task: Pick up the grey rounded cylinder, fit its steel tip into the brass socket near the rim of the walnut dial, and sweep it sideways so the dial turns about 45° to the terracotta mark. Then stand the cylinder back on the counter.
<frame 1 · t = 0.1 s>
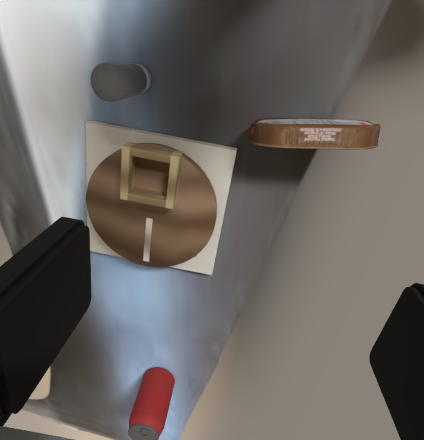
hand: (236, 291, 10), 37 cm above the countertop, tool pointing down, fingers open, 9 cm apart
beer can: (160, 375, 67), on the countertop
dial base: (157, 201, 49), on the countertop
grey rounded cylinder: (138, 78, 42), on the countertop
tin: (306, 126, 42), on the countertop
dial: (149, 212, 46), point 4 cm above the countertop, hinge at 0.0°
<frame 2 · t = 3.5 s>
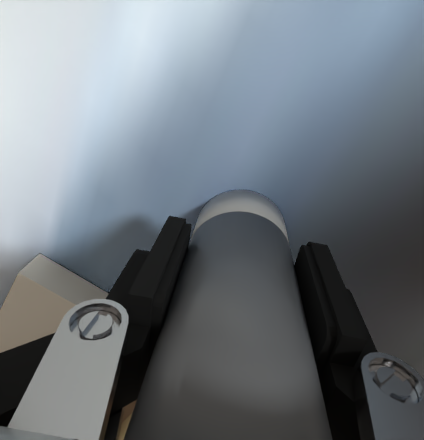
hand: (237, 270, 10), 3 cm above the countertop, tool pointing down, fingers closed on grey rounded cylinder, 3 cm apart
grey rounded cylinder: (240, 231, 13), on the countertop, touching gripper
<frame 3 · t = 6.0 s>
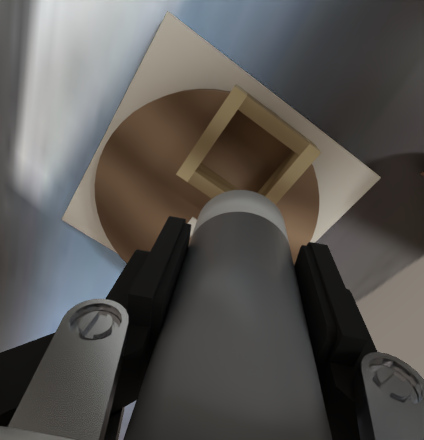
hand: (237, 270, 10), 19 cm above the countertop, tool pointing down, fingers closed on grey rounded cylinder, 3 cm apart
dial base: (208, 194, 30), on the countertop
grey rounded cylinder: (240, 231, 13), point 17 cm above the countertop, touching gripper
dial: (203, 211, 27), point 4 cm above the countertop, hinge at 0.0°
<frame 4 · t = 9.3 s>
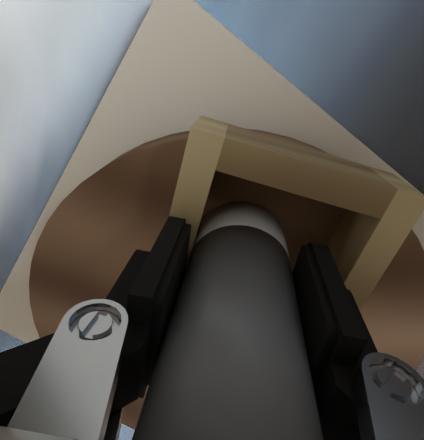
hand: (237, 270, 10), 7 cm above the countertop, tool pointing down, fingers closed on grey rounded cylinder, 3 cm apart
dial base: (225, 287, 19), on the countertop
grey rounded cylinder: (240, 241, 13), point 4 cm above the countertop, touching dial, gripper
dial: (222, 339, 15), point 4 cm above the countertop, hinge at 20.4°, touching grey rounded cylinder, gripper
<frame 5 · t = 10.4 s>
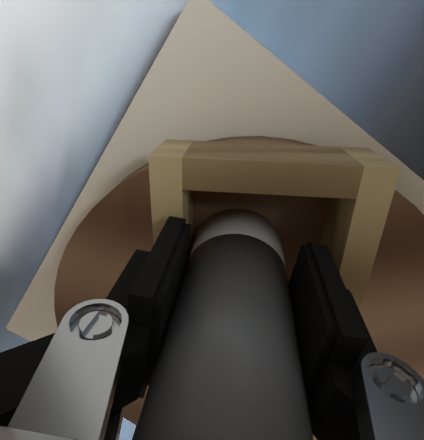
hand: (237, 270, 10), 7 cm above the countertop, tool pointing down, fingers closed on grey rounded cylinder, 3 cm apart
dial base: (244, 292, 19), on the countertop
grey rounded cylinder: (237, 247, 13), point 4 cm above the countertop, touching dial, gripper
dial: (246, 345, 15), point 4 cm above the countertop, hinge at 33.9°, touching grey rounded cylinder
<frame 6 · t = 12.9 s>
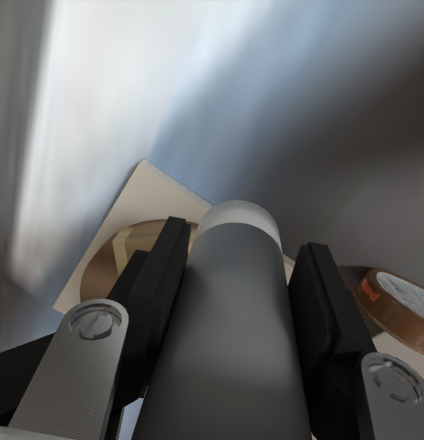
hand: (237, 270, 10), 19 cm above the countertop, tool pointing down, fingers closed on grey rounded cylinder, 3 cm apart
dial base: (179, 289, 35), on the countertop
grey rounded cylinder: (237, 237, 14), point 15 cm above the countertop, touching gripper
tin: (413, 291, 32), on the countertop
dial: (171, 315, 31), point 4 cm above the countertop, hinge at 36.4°
when the fingers open (4 cm above the countertop, at t = 15.9 s): grey rounded cylinder stays where it is, on the countertop.
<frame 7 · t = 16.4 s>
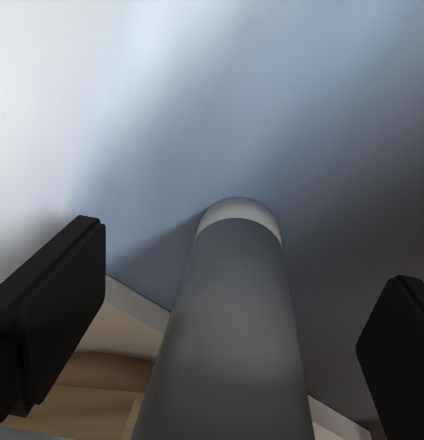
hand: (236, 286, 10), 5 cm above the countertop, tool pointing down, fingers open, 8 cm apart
dial base: (136, 431, 22), on the countertop
grey rounded cylinder: (238, 234, 14), on the countertop
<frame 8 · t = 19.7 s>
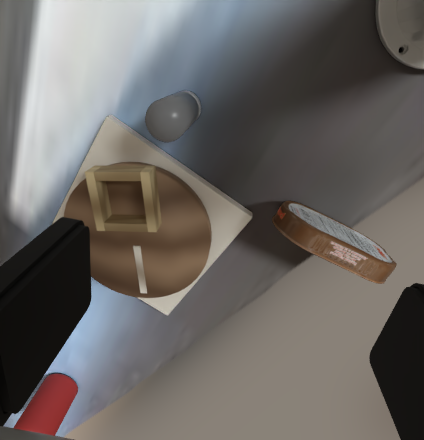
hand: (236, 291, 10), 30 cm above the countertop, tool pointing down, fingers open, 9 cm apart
beer can: (63, 382, 61), on the countertop
dial base: (144, 225, 44), on the countertop
grey rounded cylinder: (185, 107, 37), on the countertop
tin: (325, 223, 41), on the countertop
dial: (135, 239, 40), point 4 cm above the countertop, hinge at 36.4°
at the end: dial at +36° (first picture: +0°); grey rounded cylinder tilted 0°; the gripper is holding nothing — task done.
